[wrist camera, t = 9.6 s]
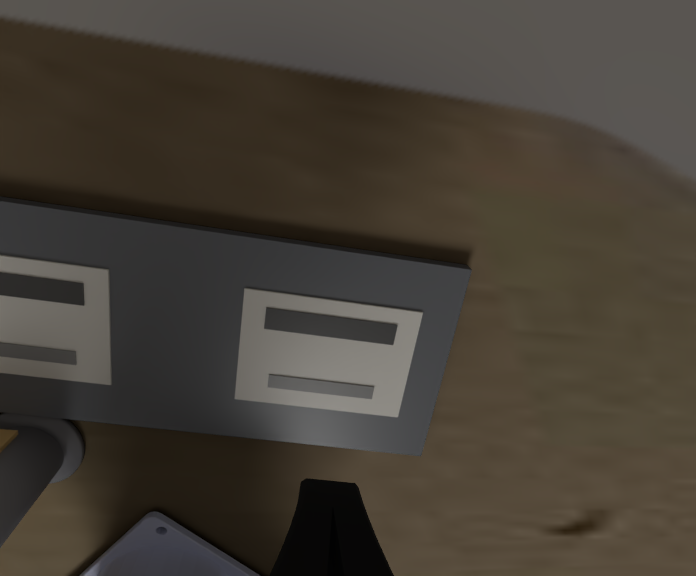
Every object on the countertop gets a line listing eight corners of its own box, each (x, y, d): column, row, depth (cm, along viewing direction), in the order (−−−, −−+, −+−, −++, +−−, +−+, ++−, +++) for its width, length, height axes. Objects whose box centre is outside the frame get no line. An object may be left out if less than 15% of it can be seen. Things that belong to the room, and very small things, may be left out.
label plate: (467, 265, 18) (473, 271, 17) (401, 511, 23) (403, 524, 22) (-135, 176, 16) (-157, 179, 15) (-76, 467, 21) (-90, 480, 20)
